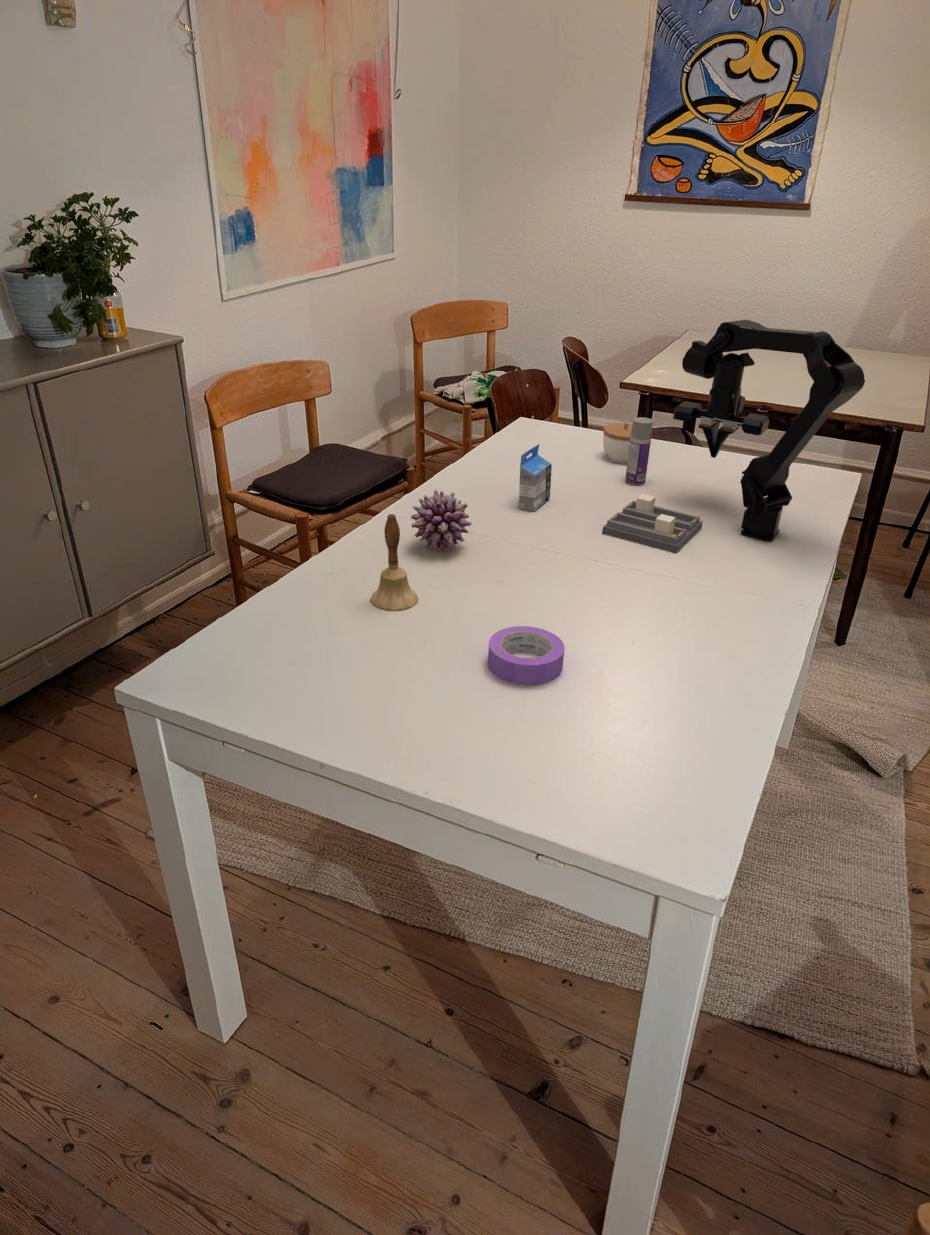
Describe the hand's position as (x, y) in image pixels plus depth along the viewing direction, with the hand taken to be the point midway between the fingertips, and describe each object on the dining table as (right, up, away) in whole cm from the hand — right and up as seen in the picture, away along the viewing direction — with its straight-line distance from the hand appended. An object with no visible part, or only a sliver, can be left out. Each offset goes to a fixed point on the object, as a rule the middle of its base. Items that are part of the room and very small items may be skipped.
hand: (713, 457), depth 187 cm
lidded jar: (-14, +5, +33) cm, 36 cm away
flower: (-58, -21, -15) cm, 64 cm away
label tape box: (-38, -10, +6) cm, 40 cm away
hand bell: (-66, -31, -34) cm, 80 cm away
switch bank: (-14, -16, -5) cm, 22 cm away
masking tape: (-44, -42, -50) cm, 79 cm away
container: (-13, -3, +19) cm, 23 cm away
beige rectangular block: (-15, -12, -1) cm, 19 cm away
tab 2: (-13, -17, -11) cm, 24 cm away
